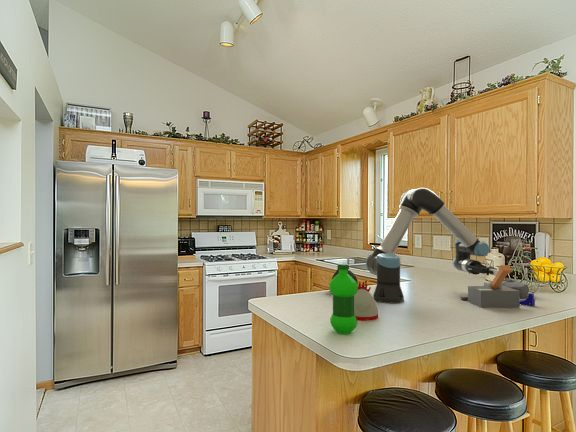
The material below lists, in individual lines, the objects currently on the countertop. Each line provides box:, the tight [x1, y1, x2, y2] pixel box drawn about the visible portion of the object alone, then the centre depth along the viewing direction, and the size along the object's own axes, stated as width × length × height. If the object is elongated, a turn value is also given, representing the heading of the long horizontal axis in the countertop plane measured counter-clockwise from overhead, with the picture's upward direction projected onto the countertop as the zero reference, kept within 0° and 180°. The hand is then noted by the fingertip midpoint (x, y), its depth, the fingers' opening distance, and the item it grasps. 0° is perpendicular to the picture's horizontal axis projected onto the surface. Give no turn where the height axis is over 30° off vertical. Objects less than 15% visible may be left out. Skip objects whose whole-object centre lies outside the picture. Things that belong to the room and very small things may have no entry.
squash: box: [330, 269, 359, 286], centre depth 198 cm, size 14×15×15 cm
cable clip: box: [520, 292, 536, 307], centre depth 169 cm, size 12×4×6 cm, turn 41°
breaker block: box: [467, 282, 521, 309], centre depth 166 cm, size 18×12×10 cm, turn 89°
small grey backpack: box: [488, 279, 530, 299], centre depth 190 cm, size 15×8×20 cm
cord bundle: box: [460, 296, 468, 301], centre depth 176 cm, size 21×3×1 cm, turn 89°
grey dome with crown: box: [354, 281, 379, 322], centre depth 147 cm, size 14×14×15 cm
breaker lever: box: [491, 264, 513, 289], centre depth 161 cm, size 4×3×15 cm
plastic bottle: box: [328, 263, 359, 335], centre depth 126 cm, size 10×10×25 cm
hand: (499, 273), depth 162 cm, fingers closed
